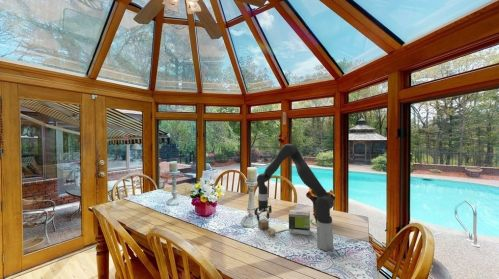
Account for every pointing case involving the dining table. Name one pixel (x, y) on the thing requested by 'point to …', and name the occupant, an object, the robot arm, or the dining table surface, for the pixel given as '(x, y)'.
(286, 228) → the plate
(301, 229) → the tea box
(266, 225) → the walnut cube
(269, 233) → the maple block
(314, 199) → the decorative vase
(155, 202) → the dining table surface
